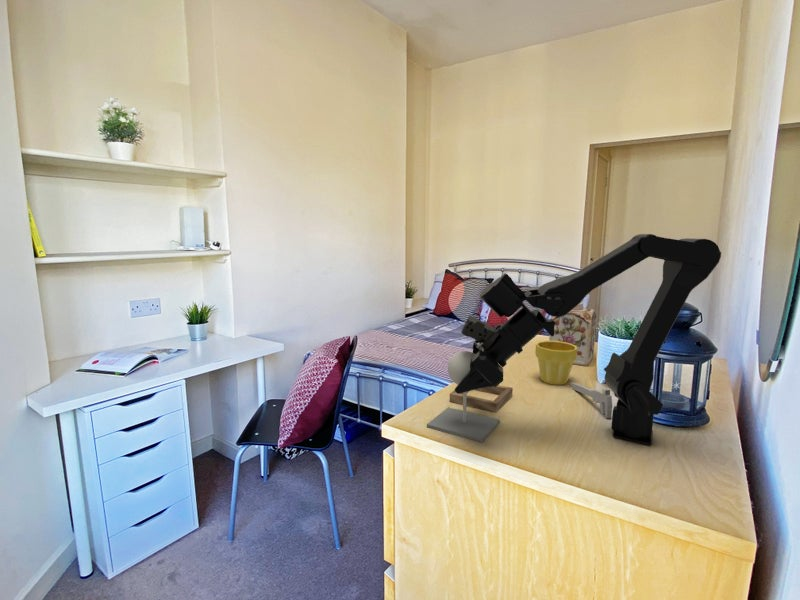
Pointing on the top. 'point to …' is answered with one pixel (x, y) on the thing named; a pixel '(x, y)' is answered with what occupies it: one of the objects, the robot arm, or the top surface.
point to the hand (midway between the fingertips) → (457, 383)
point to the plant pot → (555, 360)
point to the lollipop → (460, 371)
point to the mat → (464, 424)
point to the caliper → (597, 398)
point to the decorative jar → (577, 332)
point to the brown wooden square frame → (485, 404)
